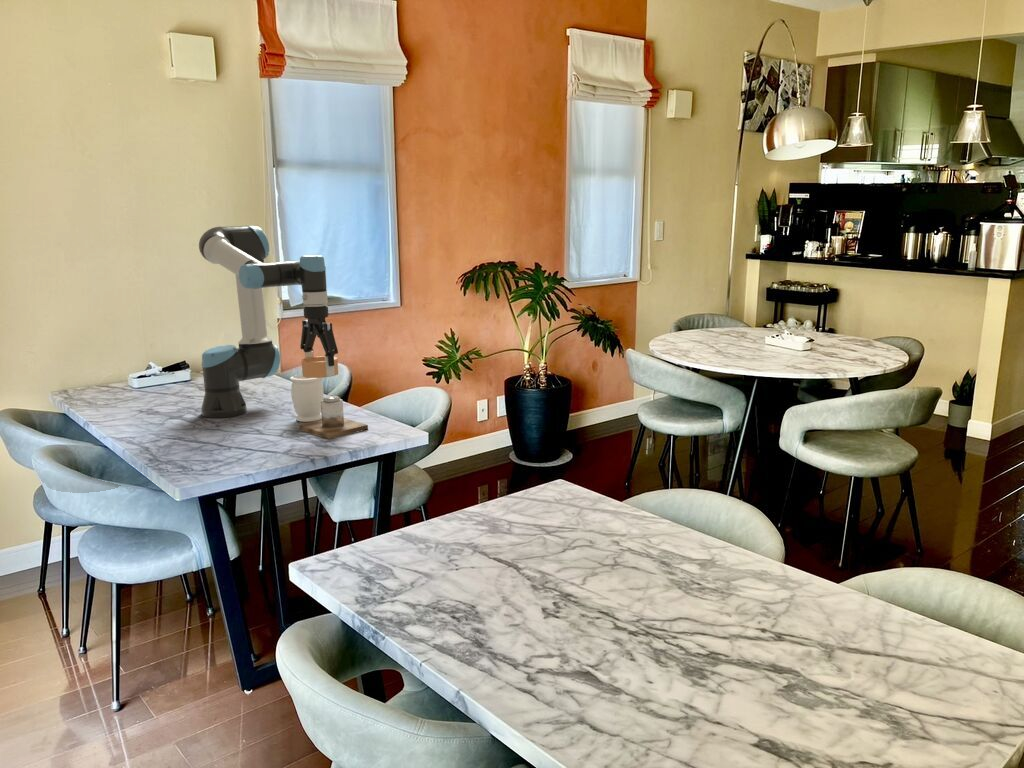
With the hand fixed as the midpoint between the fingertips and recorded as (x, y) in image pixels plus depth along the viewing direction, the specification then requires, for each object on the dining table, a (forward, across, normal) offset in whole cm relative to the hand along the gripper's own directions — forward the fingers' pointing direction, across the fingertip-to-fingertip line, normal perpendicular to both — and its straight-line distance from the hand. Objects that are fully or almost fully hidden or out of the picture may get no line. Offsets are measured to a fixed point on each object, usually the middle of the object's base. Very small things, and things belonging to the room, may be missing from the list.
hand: (320, 373), depth 262 cm
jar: (+19, -17, +4) cm, 25 cm away
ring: (0, 0, 0) cm, 0 cm away
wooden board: (+19, +1, +3) cm, 19 cm away
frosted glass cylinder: (+17, +1, +3) cm, 17 cm away
